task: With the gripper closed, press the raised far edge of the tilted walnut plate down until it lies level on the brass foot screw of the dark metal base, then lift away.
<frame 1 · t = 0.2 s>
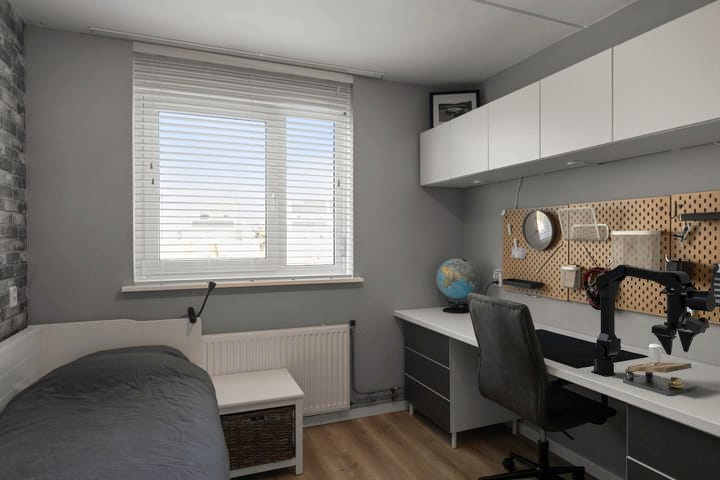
hand: (677, 353, 149), 14 cm above the table, tool pointing down, fingers open, 9 cm apart
base: (658, 385, 157), on the table
milkshake: (656, 366, 183), on the table
top plate: (657, 367, 158), point 7 cm above the table, hinge at 12.0°
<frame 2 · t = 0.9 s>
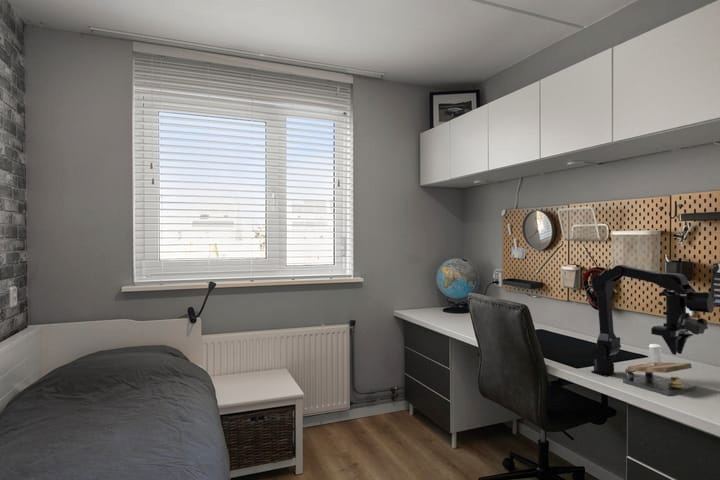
hand: (676, 354, 152), 13 cm above the table, tool pointing down, fingers open, 3 cm apart
nothing on the table moved.
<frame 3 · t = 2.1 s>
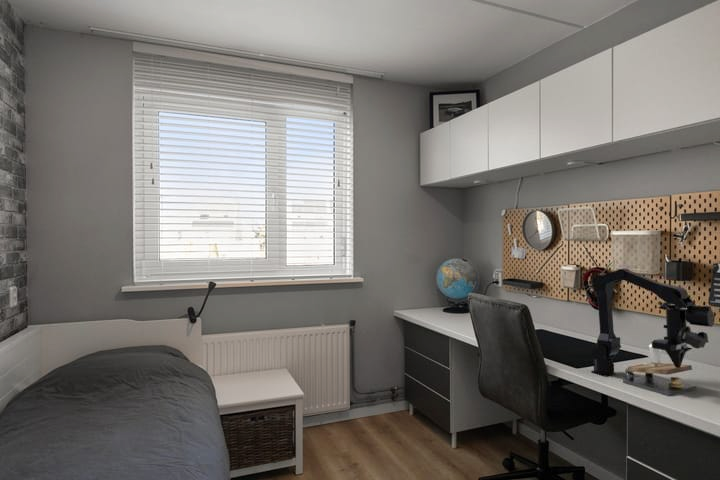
hand: (677, 367, 151), 8 cm above the table, tool pointing down, fingers closed, pressing on top plate
top plate: (657, 367, 158), point 6 cm above the table, hinge at 9.4°, touching gripper
everything else where it was.
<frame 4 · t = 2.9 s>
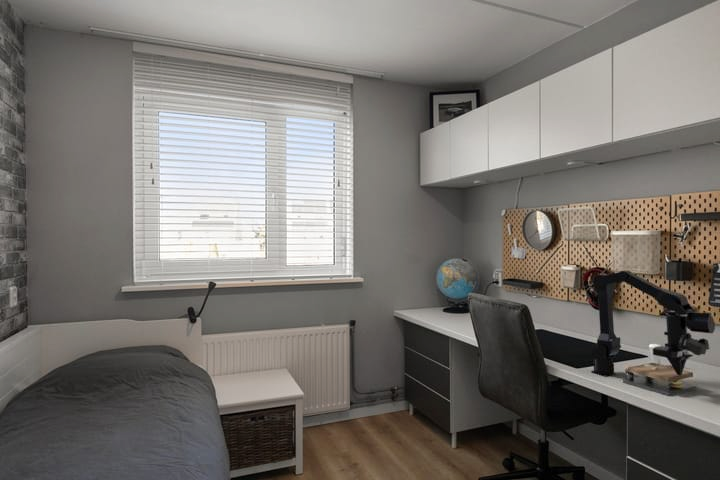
hand: (679, 374, 151), 6 cm above the table, tool pointing down, fingers closed, pressing on top plate
top plate: (658, 371, 158), point 5 cm above the table, hinge at -0.2°, touching base, gripper
everything else where it was.
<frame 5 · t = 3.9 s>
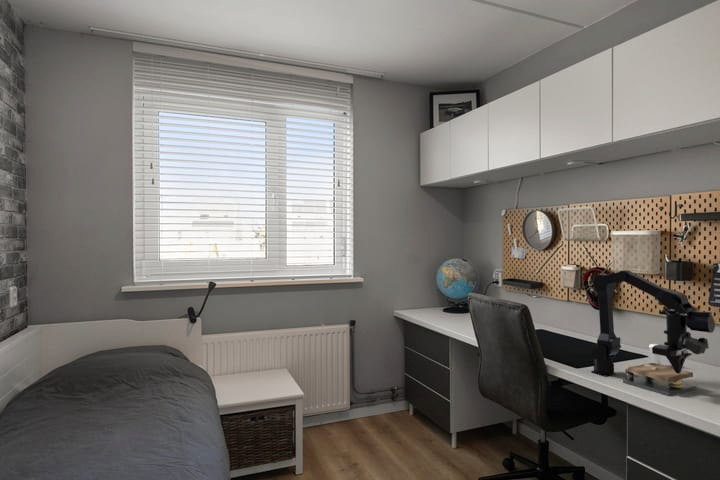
hand: (678, 373, 151), 6 cm above the table, tool pointing down, fingers closed
top plate: (658, 371, 158), point 5 cm above the table, hinge at -0.2°, touching base
everything else where it was.
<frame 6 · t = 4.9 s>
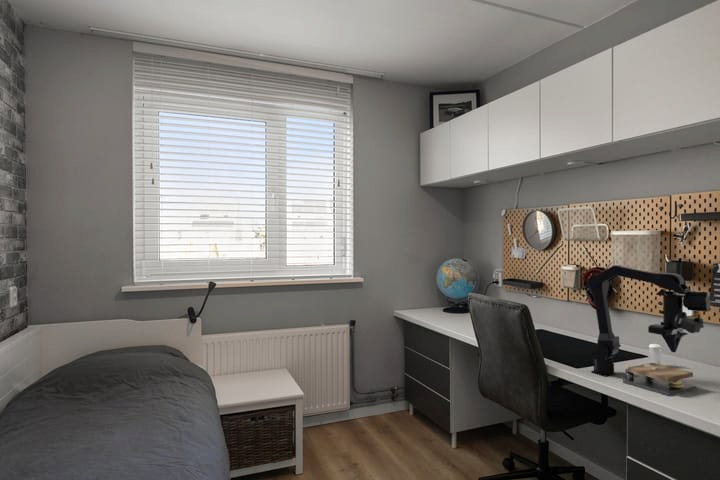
hand: (673, 352, 155), 13 cm above the table, tool pointing down, fingers closed
nothing on the table moved.
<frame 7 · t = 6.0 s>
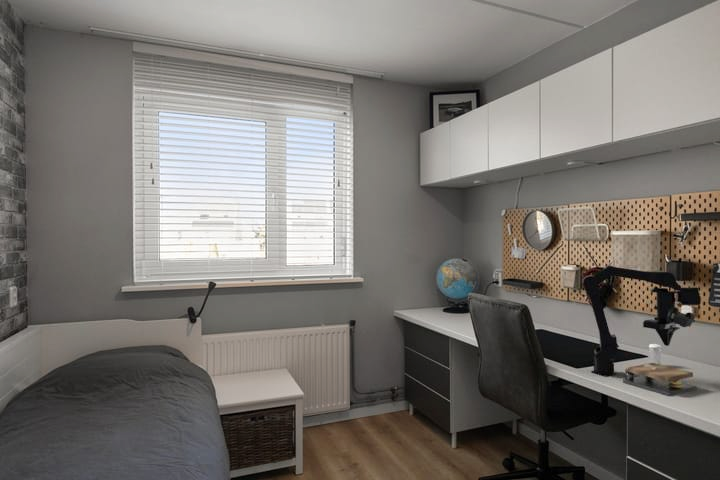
hand: (666, 345, 164), 13 cm above the table, tool pointing down, fingers closed
nothing on the table moved.
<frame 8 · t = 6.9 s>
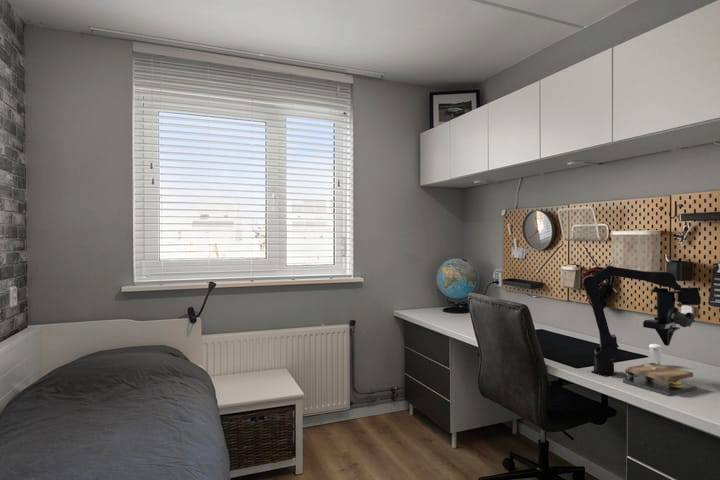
hand: (666, 345, 164), 13 cm above the table, tool pointing down, fingers closed
nothing on the table moved.
at the end: top plate at +0° (first picture: +12°); milkshake moved 0.2 cm from its start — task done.
